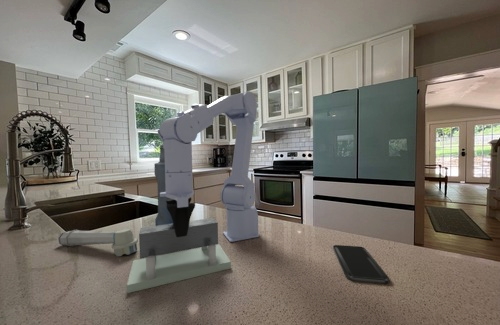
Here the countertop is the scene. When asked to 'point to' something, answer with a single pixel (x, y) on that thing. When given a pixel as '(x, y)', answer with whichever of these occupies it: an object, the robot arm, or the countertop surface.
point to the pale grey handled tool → (102, 239)
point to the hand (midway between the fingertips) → (180, 232)
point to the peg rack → (176, 267)
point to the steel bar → (177, 238)
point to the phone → (359, 265)
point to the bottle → (163, 212)
